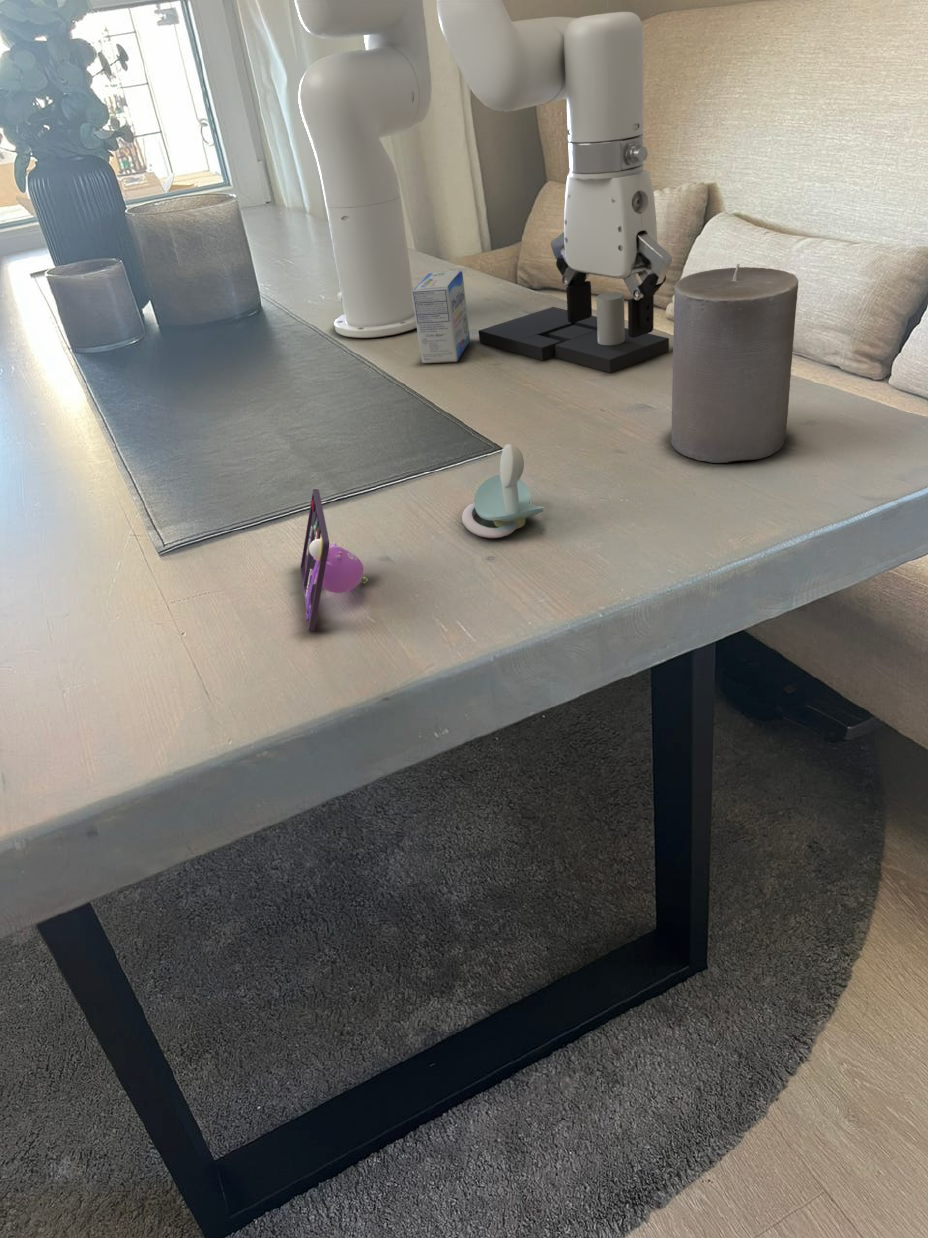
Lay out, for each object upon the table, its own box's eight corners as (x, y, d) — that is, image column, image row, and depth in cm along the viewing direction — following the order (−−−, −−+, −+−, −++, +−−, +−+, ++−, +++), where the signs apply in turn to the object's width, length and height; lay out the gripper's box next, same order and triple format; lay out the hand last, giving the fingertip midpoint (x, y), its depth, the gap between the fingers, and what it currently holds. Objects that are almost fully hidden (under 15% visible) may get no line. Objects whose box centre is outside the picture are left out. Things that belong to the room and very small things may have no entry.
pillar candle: (710, 414, 88) (716, 246, 80) (807, 434, 82) (824, 255, 74) (648, 449, 83) (648, 273, 75) (746, 474, 77) (758, 285, 68)
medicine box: (457, 363, 109) (449, 286, 105) (420, 364, 110) (410, 289, 106) (470, 342, 116) (463, 269, 111) (435, 343, 117) (427, 271, 112)
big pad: (479, 342, 115) (478, 330, 114) (553, 318, 121) (553, 306, 120) (542, 360, 107) (541, 347, 106) (619, 333, 112) (619, 321, 111)
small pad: (532, 351, 110) (529, 294, 107) (589, 331, 114) (587, 276, 111) (610, 373, 101) (608, 312, 97) (669, 351, 105) (669, 291, 101)
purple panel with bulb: (303, 486, 67) (312, 541, 60) (374, 495, 69) (391, 550, 61) (290, 568, 71) (297, 630, 63) (358, 575, 72) (373, 637, 65)
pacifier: (476, 552, 71) (551, 533, 72) (464, 476, 67) (544, 457, 68) (454, 512, 77) (523, 495, 78) (442, 441, 73) (515, 424, 74)
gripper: (696, 154, 91) (691, 331, 100) (576, 148, 103) (582, 307, 112) (640, 167, 87) (641, 349, 97) (523, 160, 100) (533, 322, 109)
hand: (609, 326), depth 104 cm, fingers open, 9 cm apart
